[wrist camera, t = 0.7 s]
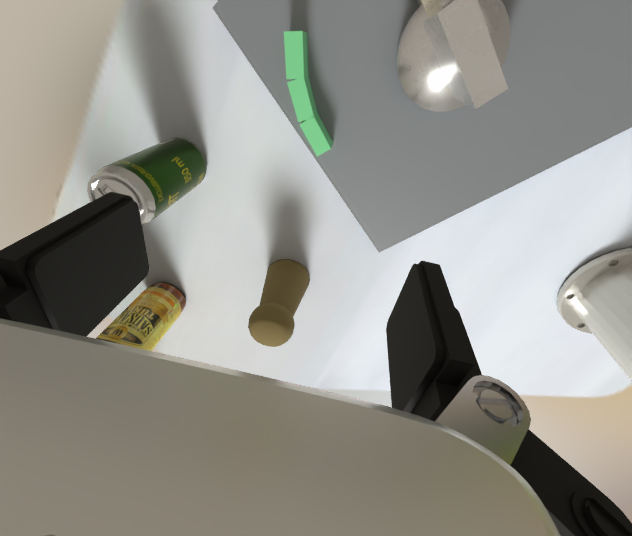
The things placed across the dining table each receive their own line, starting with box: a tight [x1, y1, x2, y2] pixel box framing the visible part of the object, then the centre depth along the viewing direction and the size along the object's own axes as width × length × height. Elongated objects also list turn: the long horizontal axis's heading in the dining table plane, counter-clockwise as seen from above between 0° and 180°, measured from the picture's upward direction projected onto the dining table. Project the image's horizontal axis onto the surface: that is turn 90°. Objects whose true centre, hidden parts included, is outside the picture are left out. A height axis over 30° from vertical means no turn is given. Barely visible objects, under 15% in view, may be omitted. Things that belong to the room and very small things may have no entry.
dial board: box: [213, 0, 632, 252], centre depth 25 cm, size 28×28×4 cm
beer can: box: [88, 138, 206, 225], centre depth 30 cm, size 5×5×12 cm
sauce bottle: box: [96, 283, 186, 351], centre depth 40 cm, size 7×6×20 cm
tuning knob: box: [396, 0, 511, 112], centre depth 21 cm, size 14×8×8 cm, turn 36°
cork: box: [248, 259, 310, 347], centre depth 38 cm, size 6×6×11 cm
